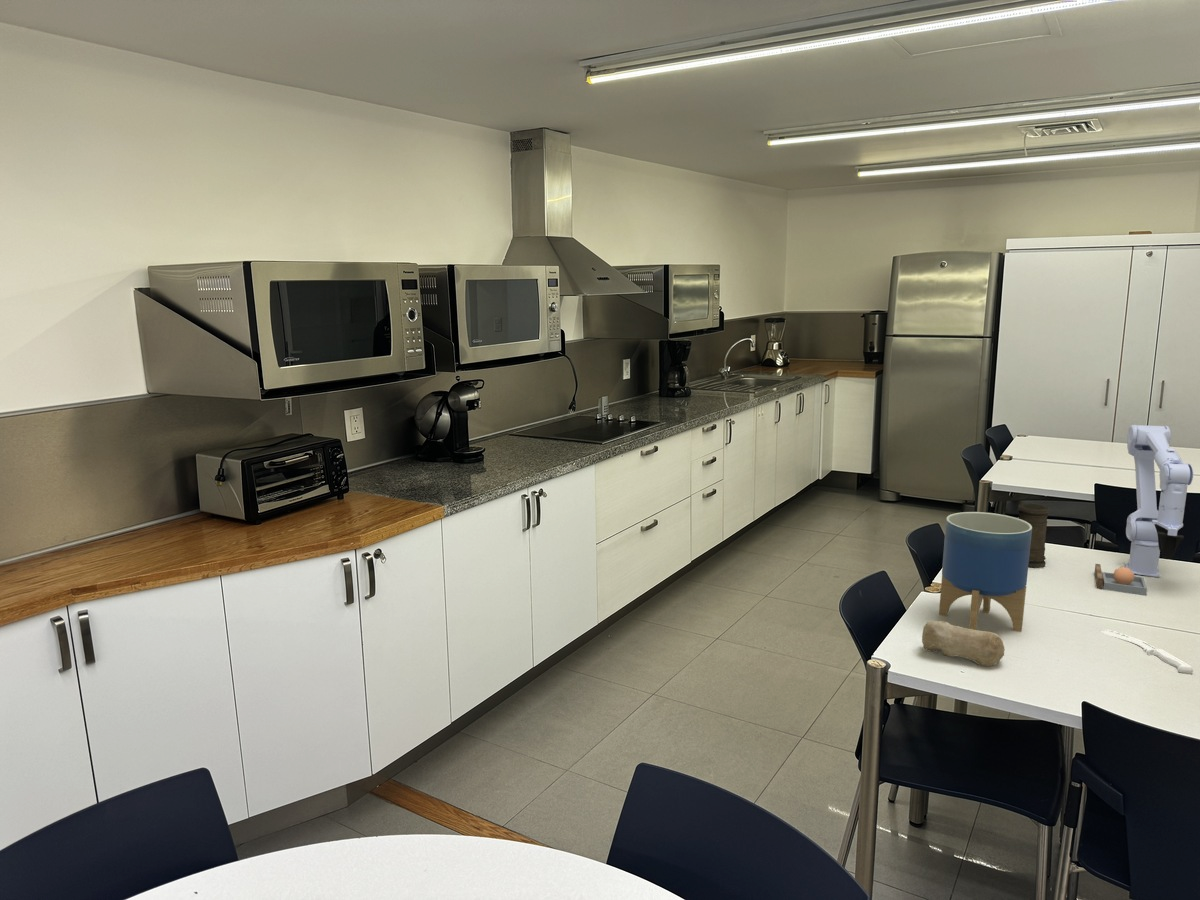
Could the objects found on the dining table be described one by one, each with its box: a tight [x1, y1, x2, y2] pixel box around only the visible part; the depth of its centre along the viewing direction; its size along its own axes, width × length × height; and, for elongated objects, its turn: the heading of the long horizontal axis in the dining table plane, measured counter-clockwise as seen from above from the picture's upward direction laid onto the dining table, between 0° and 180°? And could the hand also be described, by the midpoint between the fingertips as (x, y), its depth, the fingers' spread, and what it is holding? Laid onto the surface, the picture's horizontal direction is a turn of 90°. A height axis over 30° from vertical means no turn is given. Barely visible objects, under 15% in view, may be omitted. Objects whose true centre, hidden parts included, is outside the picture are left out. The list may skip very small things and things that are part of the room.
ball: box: [1113, 566, 1135, 585], centre depth 230 cm, size 5×5×5 cm
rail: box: [1093, 563, 1103, 590], centre depth 235 cm, size 14×1×3 cm, turn 152°
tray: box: [1102, 571, 1148, 596], centre depth 230 cm, size 10×10×2 cm
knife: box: [1101, 628, 1194, 674], centre depth 193 cm, size 30×2×8 cm
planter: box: [938, 511, 1032, 633], centre depth 204 cm, size 19×19×26 cm
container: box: [1017, 503, 1050, 569], centre depth 249 cm, size 9×9×18 cm
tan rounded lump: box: [921, 620, 1006, 667], centre depth 186 cm, size 9×17×10 cm
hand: (1165, 554), depth 226 cm, fingers open, 7 cm apart
